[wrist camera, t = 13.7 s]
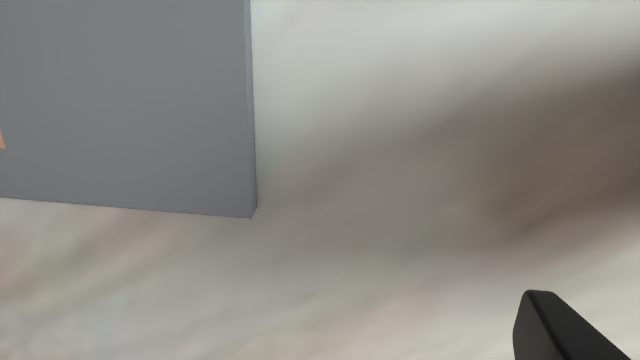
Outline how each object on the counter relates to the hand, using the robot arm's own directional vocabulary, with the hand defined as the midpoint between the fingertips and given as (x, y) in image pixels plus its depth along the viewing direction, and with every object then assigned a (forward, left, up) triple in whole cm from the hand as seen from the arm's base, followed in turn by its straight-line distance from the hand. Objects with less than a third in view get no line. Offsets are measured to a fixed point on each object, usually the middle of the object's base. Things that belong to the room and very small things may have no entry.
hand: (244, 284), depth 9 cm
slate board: (+9, +8, -13) cm, 18 cm away
